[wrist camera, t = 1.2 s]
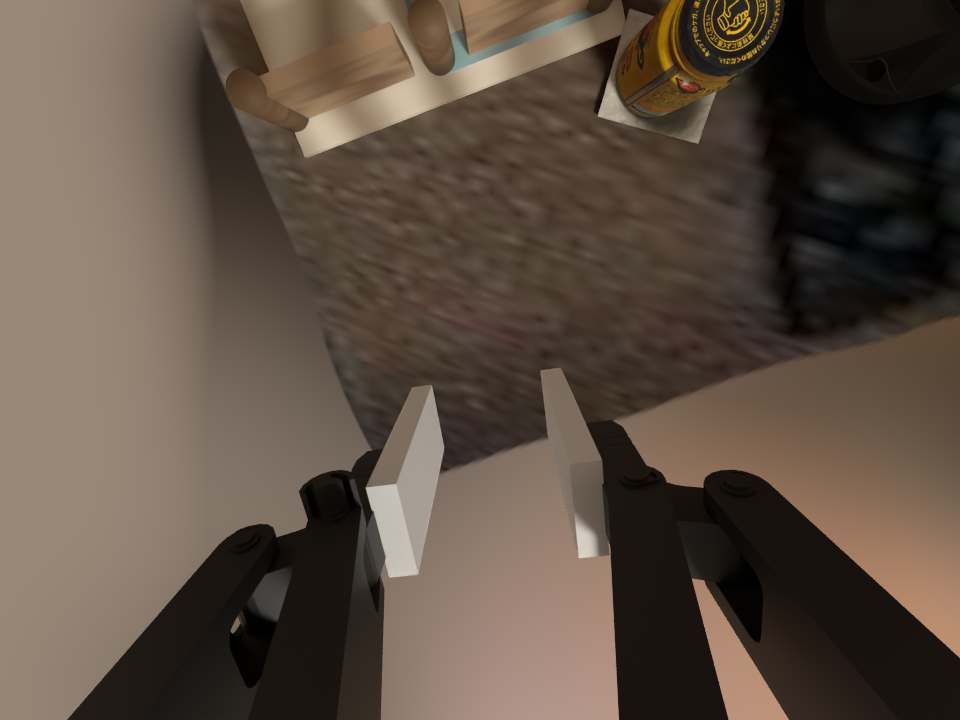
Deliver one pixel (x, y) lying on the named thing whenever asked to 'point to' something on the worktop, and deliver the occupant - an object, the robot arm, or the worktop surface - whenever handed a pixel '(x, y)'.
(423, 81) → the board
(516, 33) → the fence fixed
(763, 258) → the worktop surface
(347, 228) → the worktop surface
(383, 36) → the fence panel
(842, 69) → the robot arm
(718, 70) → the condiment
